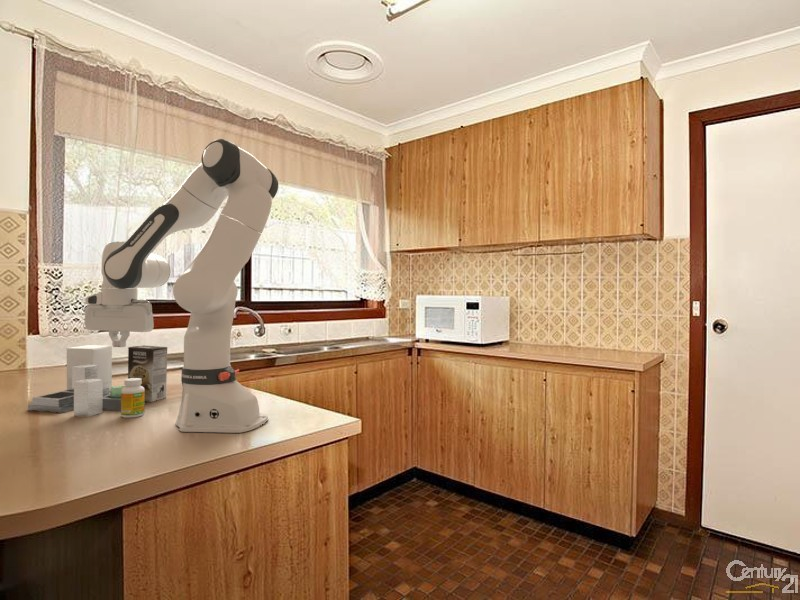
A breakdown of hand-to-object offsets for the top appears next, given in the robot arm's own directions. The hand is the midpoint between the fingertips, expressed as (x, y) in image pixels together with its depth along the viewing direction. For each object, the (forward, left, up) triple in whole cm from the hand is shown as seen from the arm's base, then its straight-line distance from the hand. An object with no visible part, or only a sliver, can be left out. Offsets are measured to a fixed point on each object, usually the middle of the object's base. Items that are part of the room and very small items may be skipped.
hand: (119, 346), depth 131 cm
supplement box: (+22, -12, -17) cm, 31 cm away
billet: (+1, +9, -17) cm, 19 cm away
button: (0, 0, -15) cm, 15 cm away
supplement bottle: (-11, +7, -17) cm, 22 cm away
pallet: (+14, +1, -17) cm, 22 cm away
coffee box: (-1, -10, -17) cm, 20 cm away
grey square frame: (0, 0, -17) cm, 17 cm away
